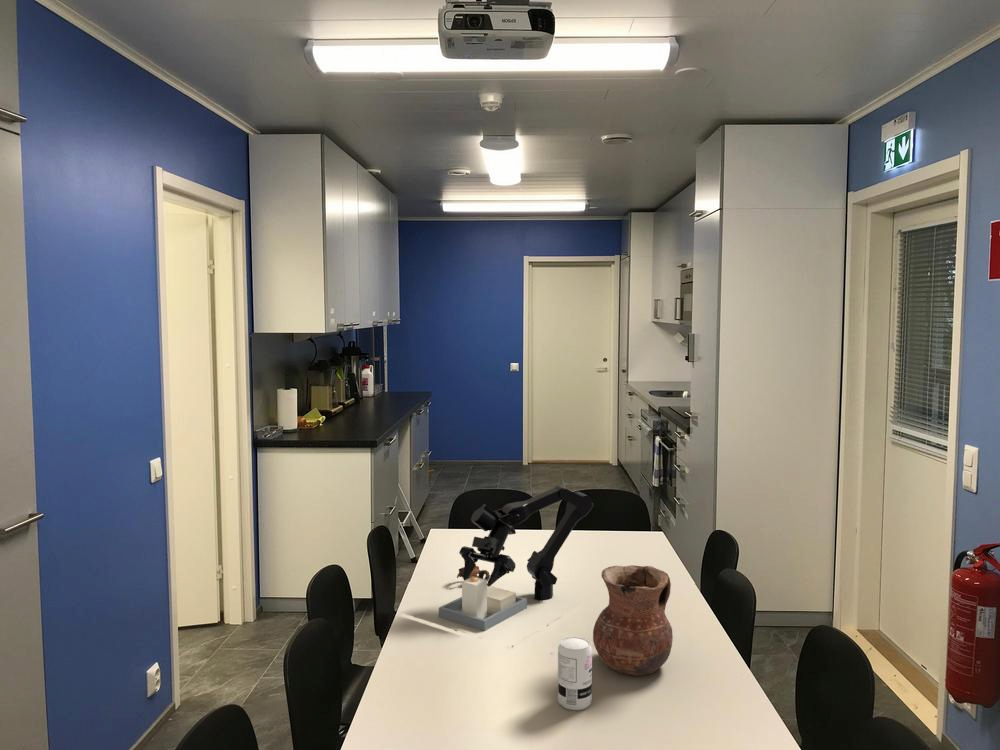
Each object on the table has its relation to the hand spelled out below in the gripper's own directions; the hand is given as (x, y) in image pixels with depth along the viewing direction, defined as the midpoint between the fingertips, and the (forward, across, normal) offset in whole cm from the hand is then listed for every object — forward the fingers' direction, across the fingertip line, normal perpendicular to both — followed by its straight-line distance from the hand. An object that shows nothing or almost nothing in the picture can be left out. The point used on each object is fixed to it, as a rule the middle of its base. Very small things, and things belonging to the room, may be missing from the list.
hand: (476, 582), depth 231 cm
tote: (+6, 0, +11) cm, 12 cm away
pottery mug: (-8, -19, +25) cm, 32 cm away
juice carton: (+8, 0, +7) cm, 11 cm away
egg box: (+1, 0, +14) cm, 14 cm away
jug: (+8, +53, +8) cm, 54 cm away
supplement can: (+27, +50, -11) cm, 58 cm away
